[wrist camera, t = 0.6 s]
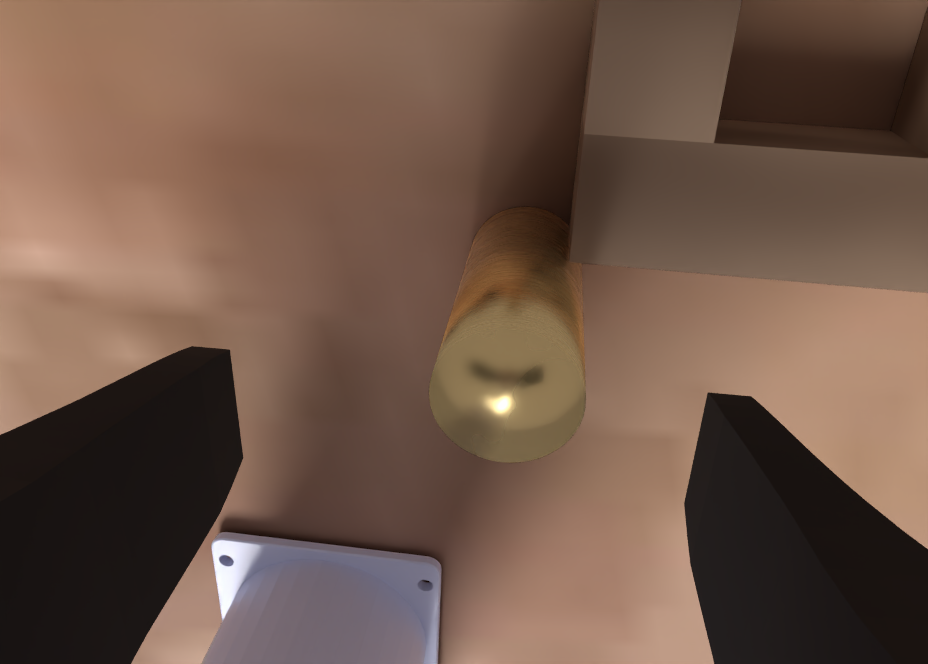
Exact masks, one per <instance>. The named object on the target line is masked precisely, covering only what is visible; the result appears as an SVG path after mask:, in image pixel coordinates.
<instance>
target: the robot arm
mask: <svg viewBox="0 0 928 664" xmlns="http://www.w3.org/2000/svg"><path fill="white" fill-rule="evenodd" d="M242 460H243V453H242V445H241V436H240V428H239V420H238V412H237V404H236V396H235V388H234V380H233V372H232V364H231V356H230V350H227V349H216V348H205V347H194V346H192V347H189V348H186V349H183V350H181V351H178V352H176V353H173V354H171V355H169V356H167V357H165V358H162V359H160V360H158V361H156V362H154V363H152V364H150V365H148V366H146V367H144V368H142V369H140V370H138V371H136V372H134V373H132V374H130V375H128V376H126V377H124V378H122V379H120V380H118V381H116V382H114V383H112V384H109V385H107V386H105V387H103V388H101V389H99V390H97V391H95V392H93V393H91V394H89V395H87V396H85V397H83V398H81V399H79V400H77V401H75V402H73V403H71V404H68V405H66V406H64V407H62V408H60V409H57V410H55V411H53V412H51V413H49V414H46V415H44V416H42V417H40V418H37V419H35V420H33V421H31V422H29V423H26V424H24V425H22V426H20V427H18V428H15V429H13V430H11V431H9V432H6V433H4V434H1V435H0V664H131V662H132V660H133V659H134V657H135V655H136V653H137V651H138V650H139V648H140V646H141V644H142V642H143V641H144V639H145V637H146V635H147V633H148V632H149V630H150V628H151V627H152V625H153V623H154V622H155V620H156V618H157V617H158V615H159V614H160V612H161V610H162V609H163V607H164V605H165V604H166V602H167V600H168V599H169V597H170V595H171V594H172V592H173V591H174V589H175V587H176V586H177V584H178V582H179V581H180V579H181V577H182V576H183V574H184V572H185V571H186V569H187V568H188V566H189V564H190V563H191V561H192V559H193V558H194V556H195V554H196V553H197V551H198V549H199V548H200V546H201V544H202V543H203V541H204V539H205V538H206V536H207V534H208V533H209V531H210V529H211V528H212V526H213V524H214V522H215V521H216V519H217V517H218V516H219V514H220V512H221V510H222V507H223V505H224V503H225V501H226V498H227V496H228V494H229V492H230V489H231V487H232V485H233V482H234V480H235V477H236V475H237V472H238V470H239V467H240V465H241V462H242ZM684 505H685V516H686V527H687V537H688V546H689V555H690V564H691V568H692V572H693V577H694V581H695V585H696V590H697V594H698V598H699V602H700V606H701V611H702V615H703V619H704V623H705V627H706V631H707V635H708V639H709V643H710V647H711V651H712V655H713V660H714V664H928V549H927V548H925V547H924V546H923V545H921V544H920V543H919V542H917V541H916V540H915V539H913V538H912V537H910V536H909V535H908V534H906V533H905V532H904V531H903V530H901V529H900V528H899V527H897V526H896V525H895V524H894V523H893V522H891V521H890V520H889V519H888V518H886V517H885V516H884V515H883V514H881V513H880V512H879V511H878V510H876V509H875V508H874V507H873V506H872V505H870V504H869V503H868V502H867V501H865V500H864V499H863V498H862V497H861V496H859V495H858V494H857V493H856V492H855V491H854V490H852V489H851V488H850V487H849V486H848V485H847V484H845V483H844V482H843V481H842V480H841V479H840V478H839V477H838V476H836V475H835V474H834V473H833V472H832V471H831V470H830V469H829V468H828V467H827V466H825V465H824V464H823V463H822V462H821V461H820V460H819V459H818V458H817V457H816V456H815V455H813V454H812V453H811V452H810V451H809V450H808V449H807V448H806V447H805V446H804V445H803V444H802V443H801V442H800V441H799V440H798V439H797V438H795V437H794V436H793V435H792V434H791V433H790V432H789V431H788V430H787V429H786V428H785V427H784V426H783V425H782V424H781V423H780V422H779V421H778V420H777V419H776V418H774V417H773V416H772V415H771V414H770V413H769V412H768V411H767V410H766V409H765V408H764V407H763V406H762V405H760V404H759V403H758V402H757V401H756V400H755V399H754V398H752V397H751V396H740V395H729V394H718V393H708V394H707V399H706V404H705V408H704V413H703V418H702V423H701V427H700V432H699V437H698V441H697V446H696V451H695V456H694V460H693V465H692V470H691V474H690V479H689V484H688V488H687V493H686V498H685V503H684ZM211 548H212V555H213V561H214V568H215V575H216V581H217V588H218V595H219V601H220V608H221V615H222V623H221V625H220V627H219V629H218V631H217V633H216V635H215V637H214V639H213V641H212V643H211V645H210V647H209V649H208V651H207V653H206V655H205V657H204V659H203V661H202V663H201V664H438V649H439V623H440V598H441V572H442V569H441V564H440V563H439V562H438V561H437V560H436V559H434V558H432V557H428V556H421V555H413V554H404V553H396V552H388V551H380V550H371V549H363V548H355V547H346V546H338V545H330V544H322V543H313V542H305V541H297V540H289V539H280V538H272V537H264V536H256V535H247V534H239V533H231V532H221V533H219V534H218V535H217V536H216V537H215V539H214V540H213V542H212V546H211ZM226 555H227V556H230V557H231V558H229V557H227V556H226ZM422 580H427V581H430V582H428V583H427V582H424V581H422Z"/></svg>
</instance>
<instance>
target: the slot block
mask: <svg viewBox="0 0 928 664" xmlns="http://www.w3.org/2000/svg"><path fill="white" fill-rule="evenodd" d="M741 2H742V0H595V3H594V12H593V21H592V29H591V38H590V47H589V56H588V65H587V74H586V83H585V92H584V100H583V109H582V118H581V127H580V136H579V145H578V154H577V163H576V171H575V180H574V189H573V198H572V207H571V216H570V225H569V262H572V263H584V264H595V265H607V266H619V267H630V268H642V269H654V270H665V271H677V272H689V273H700V274H712V275H724V276H735V277H747V278H758V279H770V280H782V281H793V282H805V283H817V284H828V285H840V286H852V287H863V288H875V289H887V290H898V291H910V292H922V293H928V9H927V12H926V16H925V19H924V22H923V26H922V29H921V32H920V36H919V39H918V42H917V45H916V49H915V52H914V55H913V59H912V62H911V65H910V69H909V72H908V75H907V79H906V82H905V85H904V89H903V92H902V95H901V98H900V102H899V105H898V108H897V112H896V115H895V118H894V122H893V125H892V128H891V131H885V130H871V129H856V128H841V127H827V126H812V125H798V124H783V123H768V122H754V121H739V120H725V119H719V115H720V109H721V104H722V99H723V94H724V89H725V84H726V79H727V74H728V69H729V63H730V58H731V53H732V48H733V43H734V38H735V33H736V28H737V23H738V17H739V12H740V7H741Z"/></svg>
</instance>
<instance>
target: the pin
mask: <svg viewBox="0 0 928 664" xmlns="http://www.w3.org/2000/svg"><path fill="white" fill-rule="evenodd" d="M429 401H430V406H431V410H432V413H433V415H434V418H435V420H436V421H437V423H438V425H439V426H440V428H441V429H442V431H443V432H444V433H445V434H446V435H447V436H448V438H449V439H451V440H452V441H453V442H454V443H455V444H456V445H458V446H459V447H461V448H462V449H464V450H465V451H467V452H469V453H471V454H473V455H476V456H478V457H481V458H484V459H487V460H491V461H497V462H507V463H516V462H526V461H531V460H535V459H539V458H541V457H544V456H546V455H549V454H550V453H552V452H554V451H556V450H557V449H559V448H560V447H561V446H563V445H564V444H565V443H566V442H567V441H568V440H569V439H570V438H571V437H572V436H573V435H574V433H575V432H576V430H577V429H578V427H579V425H580V423H581V421H582V418H583V415H584V411H585V403H586V391H585V359H584V327H583V296H582V264H581V263H572V262H569V226H568V225H567V224H566V223H565V222H564V221H563V220H562V219H561V218H559V217H558V216H556V215H555V214H553V213H551V212H549V211H546V210H543V209H540V208H535V207H515V208H511V209H507V210H504V211H502V212H500V213H498V214H496V215H494V216H493V217H491V218H490V219H489V220H488V221H486V222H485V223H484V224H483V226H482V227H481V228H480V229H479V231H478V232H477V234H476V236H475V238H474V241H473V243H472V247H471V250H470V253H469V256H468V259H467V263H466V266H465V269H464V272H463V276H462V279H461V282H460V285H459V289H458V292H457V295H456V298H455V301H454V305H453V308H452V311H451V314H450V318H449V321H448V324H447V327H446V331H445V334H444V337H443V340H442V343H441V347H440V350H439V353H438V356H437V360H436V363H435V366H434V369H433V373H432V376H431V380H430V385H429Z"/></svg>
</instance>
